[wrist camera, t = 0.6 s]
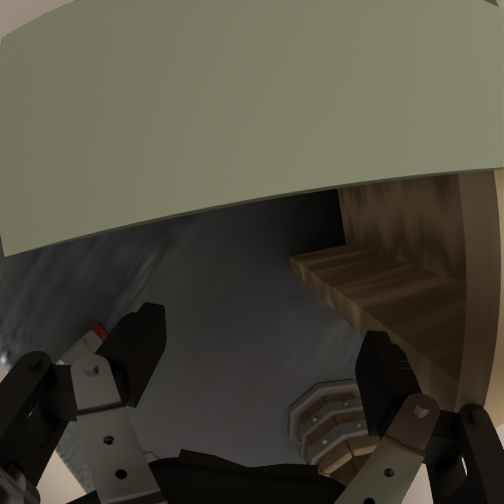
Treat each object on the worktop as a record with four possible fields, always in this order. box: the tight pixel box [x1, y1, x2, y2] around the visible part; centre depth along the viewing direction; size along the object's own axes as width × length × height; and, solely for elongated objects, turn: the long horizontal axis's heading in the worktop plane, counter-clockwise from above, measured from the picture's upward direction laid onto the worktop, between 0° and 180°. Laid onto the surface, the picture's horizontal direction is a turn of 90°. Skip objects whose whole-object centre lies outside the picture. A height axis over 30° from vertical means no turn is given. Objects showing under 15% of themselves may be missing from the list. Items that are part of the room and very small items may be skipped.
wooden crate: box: [290, 170, 504, 428], centre depth 22 cm, size 20×9×32 cm, turn 10°
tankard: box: [288, 379, 380, 487], centre depth 35 cm, size 20×13×15 cm, turn 0°
